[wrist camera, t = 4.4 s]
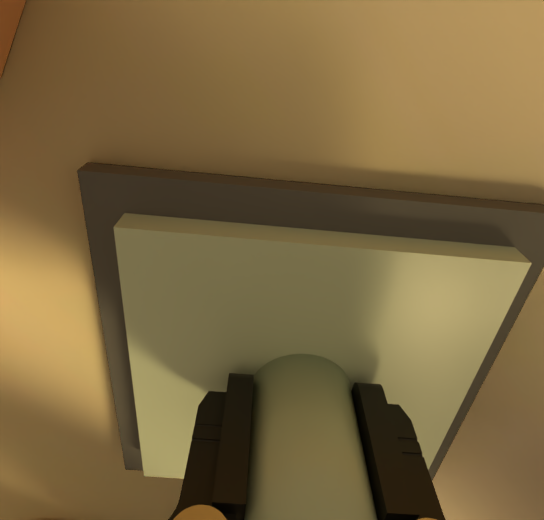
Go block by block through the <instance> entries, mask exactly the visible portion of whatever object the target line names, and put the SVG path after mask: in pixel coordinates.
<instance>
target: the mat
mask: <svg viewBox="0 0 544 520" xmlns="http://www.w3.org/2000/svg"><path fill="white" fill-rule="evenodd" d="M77 172H78V178H79V184H80V190H81V196H82V203H83V209H84V215H85V221H86V227H87V234H88V240H89V246H90V252H91V258H92V265H93V271H94V277H95V283H96V290H97V296H98V302H99V308H100V314H101V321H102V327H103V333H104V339H105V345H106V352H107V358H108V364H109V370H110V376H111V383H112V389H113V395H114V401H115V407H116V414H117V420H118V426H119V432H120V438H121V445H122V451H123V457H124V463H125V469H126V470H142V471H143V464H142V456H141V448H140V440H139V431H138V423H137V415H136V407H135V399H134V391H133V383H132V374H131V366H130V358H129V350H128V342H127V334H126V325H125V317H124V309H123V301H122V293H121V285H120V276H119V268H118V260H117V252H116V244H115V236H114V228H113V227H114V226H115V225H116V223H117V222H118V221H119V220H120V218H121V217H122V216H123V214H124V213H131V214H142V215H154V216H165V217H176V218H188V219H199V220H211V221H222V222H233V223H245V224H256V225H268V226H279V227H290V228H302V229H313V230H325V231H336V232H347V233H359V234H370V235H382V236H393V237H404V238H416V239H427V240H439V241H450V242H461V243H473V244H484V245H496V246H507V247H515V248H516V249H517V250H518V251H519V252H520V253H521V254H523V255H524V256H525V257H526V258H527V259H528V260H529V261H530V262H531V263H532V264H531V266H530V268H529V270H528V272H527V274H526V276H525V278H524V280H523V282H522V284H521V286H520V288H519V290H518V292H517V294H516V296H515V298H514V300H513V302H512V304H511V306H510V308H509V310H508V312H507V314H506V316H505V318H504V320H503V322H502V324H501V326H500V328H499V330H498V332H497V334H496V336H495V338H494V340H493V342H492V344H491V346H490V348H489V350H488V352H487V354H486V356H485V358H484V360H483V362H482V364H481V366H480V368H479V370H478V372H477V374H476V376H475V378H474V380H473V382H472V384H471V386H470V388H469V390H468V392H467V394H466V396H465V398H464V400H463V402H462V404H461V406H460V408H459V410H458V412H457V414H456V416H455V418H454V420H453V422H452V424H451V426H450V428H449V430H448V432H447V434H446V436H445V438H444V440H443V442H442V444H441V446H440V448H439V450H438V452H437V454H436V456H435V458H434V460H433V462H432V464H431V466H430V468H429V470H428V471H429V474H430V477H431V480H433V478H434V476H435V474H436V472H437V470H438V468H439V466H440V464H441V463H442V461H443V459H444V457H445V455H446V453H447V451H448V449H449V447H450V445H451V443H452V441H453V439H454V438H455V436H456V434H457V432H458V430H459V428H460V426H461V424H462V422H463V420H464V418H465V416H466V415H467V413H468V411H469V409H470V407H471V405H472V403H473V401H474V399H475V397H476V395H477V393H478V391H479V390H480V388H481V386H482V384H483V382H484V380H485V378H486V376H487V374H488V372H489V370H490V368H491V367H492V365H493V363H494V361H495V359H496V357H497V355H498V353H499V351H500V349H501V347H502V345H503V343H504V342H505V340H506V338H507V336H508V334H509V332H510V330H511V328H512V326H513V324H514V322H515V320H516V319H517V317H518V315H519V313H520V311H521V309H522V307H523V305H524V303H525V301H526V299H527V297H528V295H529V294H530V292H531V290H532V288H533V286H534V284H535V282H536V280H537V278H538V276H539V274H540V272H541V270H542V269H543V267H544V205H541V204H531V203H520V202H509V201H498V200H487V199H476V198H466V197H455V196H444V195H433V194H422V193H412V192H401V191H390V190H379V189H368V188H357V187H347V186H336V185H325V184H314V183H303V182H292V181H282V180H271V179H260V178H249V177H238V176H228V175H217V174H206V173H195V172H184V171H173V170H163V169H152V168H141V167H130V166H119V165H108V164H98V163H86V164H85V165H84V166H82V167H81V168H80V169H78V170H77Z"/></svg>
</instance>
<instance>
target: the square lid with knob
mask: <svg viewBox="0 0 544 520" xmlns="http://www.w3.org/2000/svg"><path fill="white" fill-rule="evenodd" d="M113 228H114V236H115V244H116V252H117V260H118V268H119V276H120V285H121V293H122V301H123V309H124V317H125V325H126V334H127V342H128V350H129V358H130V366H131V374H132V383H133V391H134V399H135V407H136V415H137V423H138V431H139V440H140V448H141V456H142V464H143V472H144V476H147V477H163V478H180V479H184V475H185V470H186V465H187V460H188V455H189V450H190V445H191V441H192V435H193V430H194V426H195V420H196V415H197V410H198V405H199V404H200V403H201V401H202V400H203V398H204V397H205V396H206V394H207V393H208V391H217V392H227V384H228V377H229V373H236V374H250V375H254V380H253V396H252V413H251V429H250V446H249V462H248V479H247V495H246V508H245V517H244V520H377V515H376V510H375V505H374V500H373V495H372V491H371V486H370V481H369V476H368V471H367V466H366V461H365V456H364V451H363V446H362V441H361V436H360V432H359V427H358V422H357V417H356V412H355V407H354V402H353V397H352V392H351V391H352V387H353V384H354V383H355V382H358V383H372V384H381V385H382V387H383V390H384V393H385V396H386V400H387V403H388V404H399V405H400V406H401V408H402V409H403V410H404V412H405V413H406V414H407V415H408V417H409V418H410V419H411V421H412V424H413V427H414V430H415V433H416V436H417V438H418V439H417V441H418V442H419V444H420V447H421V450H422V456H423V457H424V459H425V462H426V465H427V468H428V470H429V468H430V466H431V464H432V462H433V460H434V458H435V456H436V454H437V452H438V450H439V448H440V446H441V444H442V442H443V440H444V438H445V436H446V434H447V432H448V430H449V428H450V426H451V424H452V422H453V420H454V418H455V416H456V414H457V412H458V410H459V408H460V406H461V404H462V402H463V400H464V398H465V396H466V394H467V392H468V390H469V388H470V386H471V384H472V382H473V380H474V378H475V376H476V374H477V372H478V370H479V368H480V366H481V364H482V362H483V360H484V358H485V356H486V354H487V352H488V350H489V348H490V346H491V344H492V342H493V340H494V338H495V336H496V334H497V332H498V330H499V328H500V326H501V324H502V322H503V320H504V318H505V316H506V314H507V312H508V310H509V308H510V306H511V304H512V302H513V300H514V298H515V296H516V294H517V292H518V290H519V288H520V286H521V284H522V282H523V280H524V278H525V276H526V274H527V272H528V270H529V268H530V266H531V264H532V263H531V262H530V261H529V260H528V259H527V258H526V257H525V256H524V255H523V254H521V253H520V252H519V251H518V250H517V249H516V248H515V247H507V246H496V245H484V244H473V243H461V242H450V241H439V240H427V239H416V238H404V237H393V236H382V235H370V234H359V233H347V232H336V231H325V230H313V229H302V228H290V227H279V226H268V225H256V224H245V223H233V222H222V221H211V220H199V219H188V218H176V217H165V216H154V215H142V214H131V213H124V214H123V216H122V217H121V218H120V220H119V221H118V222H117V223H116V225H115V226H114V227H113Z"/></svg>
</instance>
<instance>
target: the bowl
mask: <svg viewBox="0 0 544 520" xmlns="http://www.w3.org/2000/svg"><path fill="white" fill-rule="evenodd" d="M25 2H26V0H0V78H1V75H2V72H3V69H4V66H5V63H6V60H7V57H8V54H9V51H10V48H11V45H12V42H13V38H14V35H15V32H16V29H17V26H18V23H19V20H20V17H21V14H22V11H23V8H24V5H25Z"/></svg>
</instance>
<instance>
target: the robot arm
mask: <svg viewBox="0 0 544 520" xmlns="http://www.w3.org/2000/svg"><path fill="white" fill-rule="evenodd" d="M253 380H254V375H250V374H236V373H229V377H228V384H227V392H217V391H208V393H207V394H206V396H205V397H204V398H203V400H202V401H201V403H200V404H199V405H198V410H197V415H196V420H195V426H194V430H193V435H192V441H191V445H190V450H189V455H188V460H187V465H186V470H185V475H184V480H183V485H182V490H181V495H180V499H179V503H178V505H177V507H176V509H175V511H174V513H173V514H172V516H171V517H170V518H169V519H168V520H244V517H245V508H246V495H247V479H248V462H249V446H250V429H251V413H252V396H253ZM351 392H352V397H353V402H354V407H355V412H356V417H357V422H358V427H359V432H360V436H361V441H362V446H363V451H364V456H365V461H366V466H367V471H368V476H369V481H370V486H371V491H372V495H373V500H374V505H375V510H376V515H377V520H445V517H444V515H443V512H442V509H441V506H440V503H439V501H438V498H437V495H436V492H435V489H434V486H433V483H432V480H431V477H430V474H429V471H428V468H427V465H426V462H425V459H424V457H423V456H422V450H421V447H420V444H419V442H418V441H417V439H418V438H417V436H416V433H415V430H414V427H413V424H412V421H411V419H410V418H409V417H408V415H407V414H406V413H405V412H404V410H403V409H402V408H401V406H400V405H399V404H388V403H387V400H386V396H385V393H384V390H383V387H382V385H381V384H372V383H358V382H355V383H354V384H353V387H352V391H351Z"/></svg>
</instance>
